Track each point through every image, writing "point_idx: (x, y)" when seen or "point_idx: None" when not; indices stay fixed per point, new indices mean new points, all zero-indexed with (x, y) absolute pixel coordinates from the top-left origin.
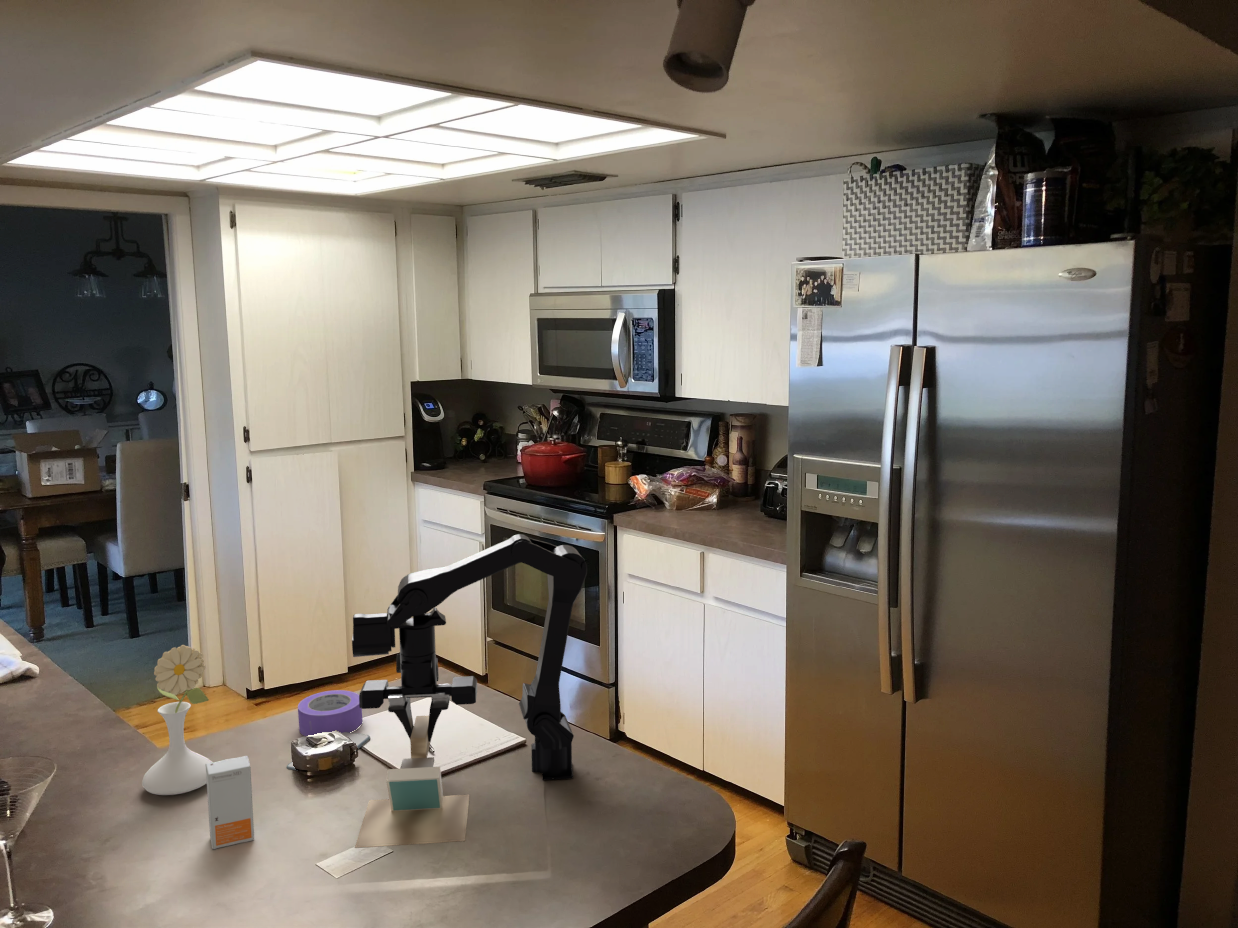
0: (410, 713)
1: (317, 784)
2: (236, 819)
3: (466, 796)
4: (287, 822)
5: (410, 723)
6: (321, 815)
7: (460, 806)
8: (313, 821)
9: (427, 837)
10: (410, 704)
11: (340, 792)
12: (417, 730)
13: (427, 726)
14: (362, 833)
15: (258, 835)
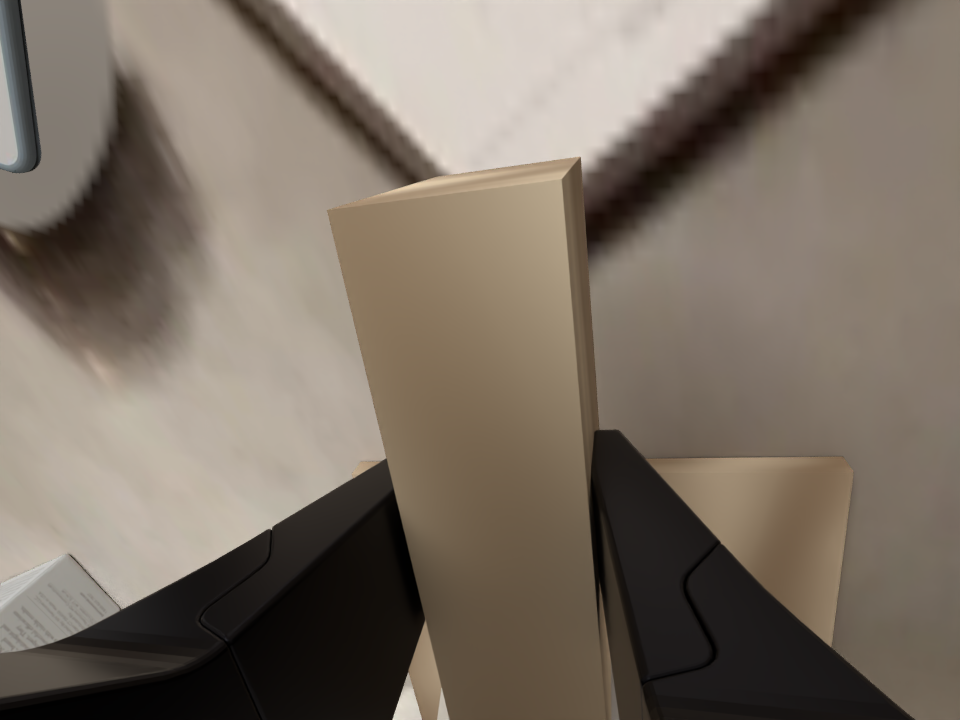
0: (287, 702)
1: (69, 280)
2: None
3: (833, 490)
4: (147, 538)
5: (378, 708)
6: (225, 512)
7: (796, 568)
8: (221, 543)
9: None
10: (141, 689)
11: (198, 354)
12: (484, 636)
13: (585, 566)
14: (419, 669)
15: (116, 590)
